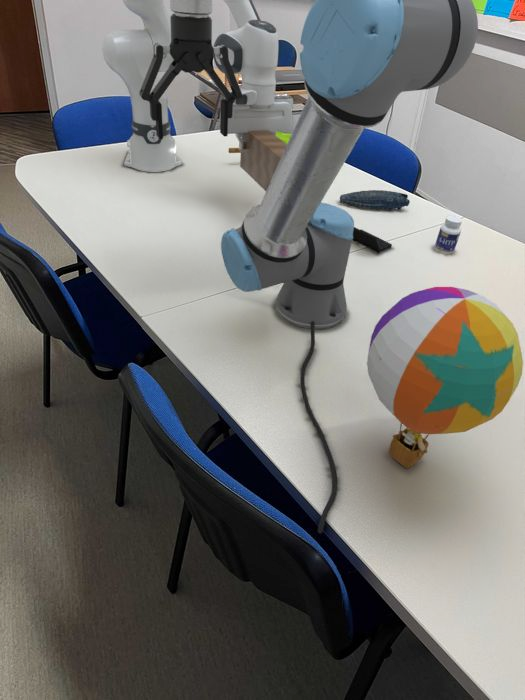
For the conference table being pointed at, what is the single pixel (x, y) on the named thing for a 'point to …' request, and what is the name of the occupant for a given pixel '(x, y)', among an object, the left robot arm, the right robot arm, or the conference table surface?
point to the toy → (442, 365)
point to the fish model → (376, 199)
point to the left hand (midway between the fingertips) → (254, 148)
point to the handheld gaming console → (370, 241)
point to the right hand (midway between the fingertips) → (192, 135)
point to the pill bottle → (448, 235)
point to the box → (261, 156)
